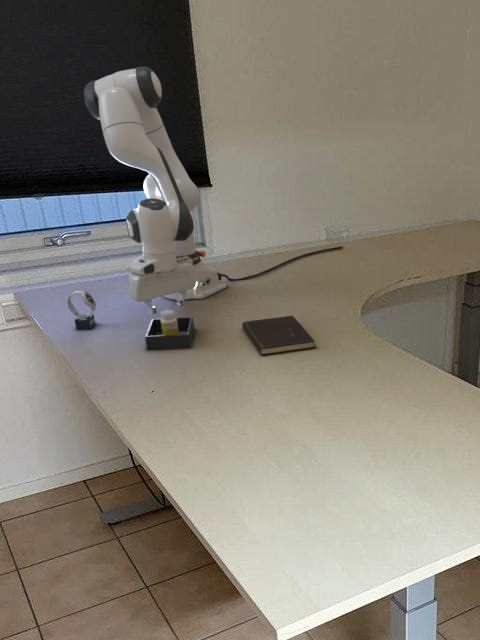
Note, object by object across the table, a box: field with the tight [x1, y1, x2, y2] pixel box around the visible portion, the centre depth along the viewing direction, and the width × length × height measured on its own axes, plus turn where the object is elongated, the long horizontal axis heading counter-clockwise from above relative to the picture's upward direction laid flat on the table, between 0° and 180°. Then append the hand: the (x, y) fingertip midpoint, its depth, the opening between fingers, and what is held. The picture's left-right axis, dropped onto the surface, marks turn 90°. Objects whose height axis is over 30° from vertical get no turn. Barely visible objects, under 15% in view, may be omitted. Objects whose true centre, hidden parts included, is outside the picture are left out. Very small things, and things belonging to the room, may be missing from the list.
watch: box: [66, 290, 97, 331], centre depth 228 cm, size 6×8×11 cm
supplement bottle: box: [160, 309, 180, 335], centre depth 219 cm, size 5×5×8 cm
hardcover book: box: [242, 315, 316, 357], centre depth 220 cm, size 16×23×2 cm
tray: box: [144, 316, 195, 351], centre depth 220 cm, size 15×12×4 cm
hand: (167, 309), depth 216 cm, fingers open, 8 cm apart
